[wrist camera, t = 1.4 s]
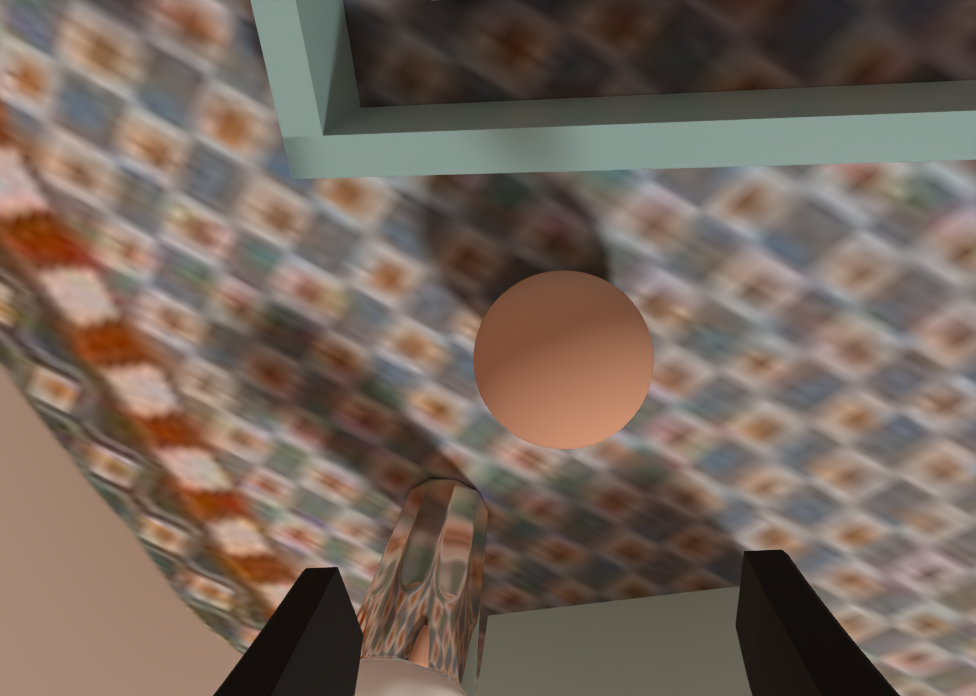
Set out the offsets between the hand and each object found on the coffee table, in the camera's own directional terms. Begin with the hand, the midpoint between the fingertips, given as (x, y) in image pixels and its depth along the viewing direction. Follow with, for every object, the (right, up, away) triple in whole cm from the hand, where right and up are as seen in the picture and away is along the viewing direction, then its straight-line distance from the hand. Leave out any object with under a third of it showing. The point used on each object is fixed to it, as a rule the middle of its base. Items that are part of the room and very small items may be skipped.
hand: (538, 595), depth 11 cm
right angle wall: (+7, -11, +19) cm, 23 cm away
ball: (+2, +5, +9) cm, 10 cm away
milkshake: (-3, -2, +14) cm, 15 cm away
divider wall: (+3, +12, +4) cm, 13 cm away
